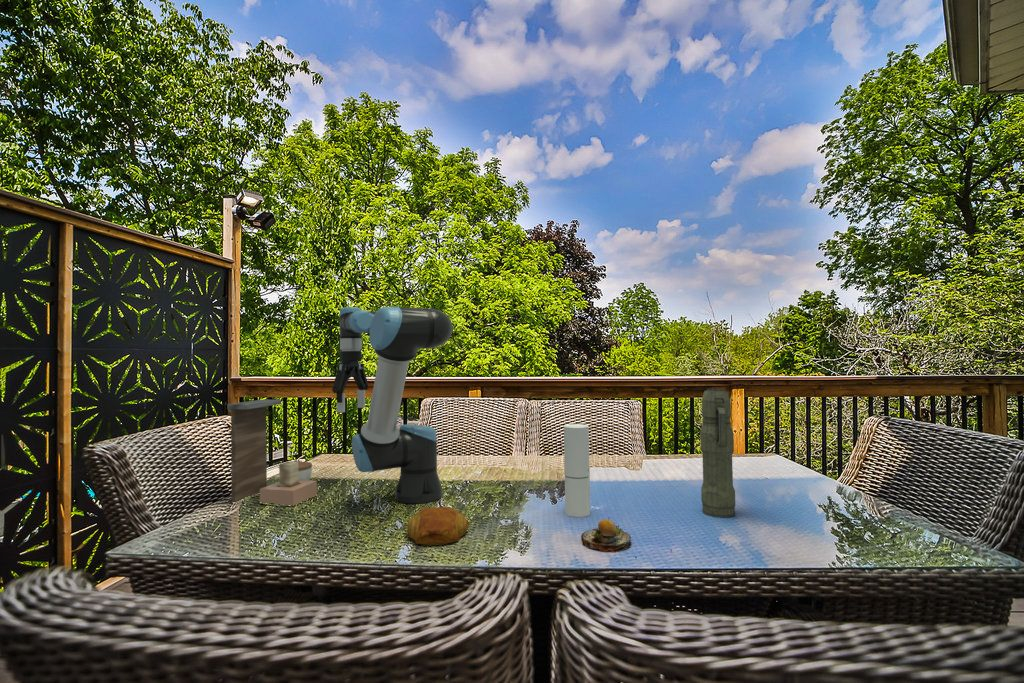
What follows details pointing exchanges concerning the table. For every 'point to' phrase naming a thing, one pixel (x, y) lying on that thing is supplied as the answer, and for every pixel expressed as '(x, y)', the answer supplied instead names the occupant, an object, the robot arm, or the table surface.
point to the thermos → (717, 454)
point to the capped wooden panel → (248, 447)
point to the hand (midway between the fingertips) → (351, 409)
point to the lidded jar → (304, 470)
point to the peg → (288, 474)
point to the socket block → (288, 493)
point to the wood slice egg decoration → (606, 537)
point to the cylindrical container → (577, 470)
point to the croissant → (437, 526)
